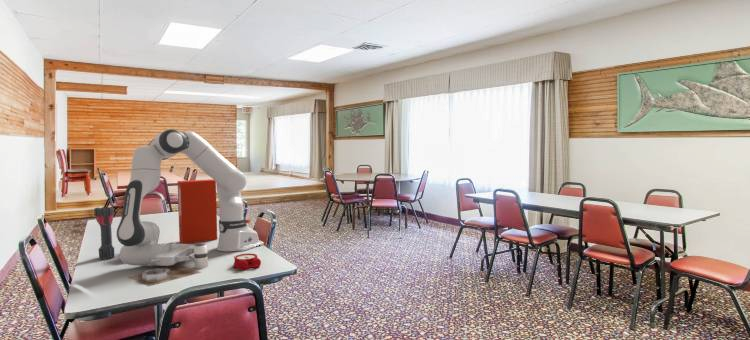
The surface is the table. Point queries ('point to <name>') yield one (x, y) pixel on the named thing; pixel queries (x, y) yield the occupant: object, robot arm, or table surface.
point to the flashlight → (105, 231)
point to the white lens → (200, 256)
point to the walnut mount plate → (175, 273)
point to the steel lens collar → (156, 274)
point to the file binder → (197, 211)
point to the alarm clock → (246, 261)
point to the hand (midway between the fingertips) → (195, 254)
